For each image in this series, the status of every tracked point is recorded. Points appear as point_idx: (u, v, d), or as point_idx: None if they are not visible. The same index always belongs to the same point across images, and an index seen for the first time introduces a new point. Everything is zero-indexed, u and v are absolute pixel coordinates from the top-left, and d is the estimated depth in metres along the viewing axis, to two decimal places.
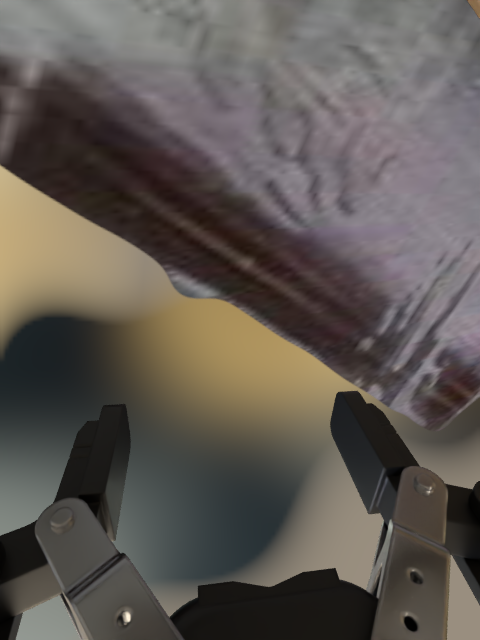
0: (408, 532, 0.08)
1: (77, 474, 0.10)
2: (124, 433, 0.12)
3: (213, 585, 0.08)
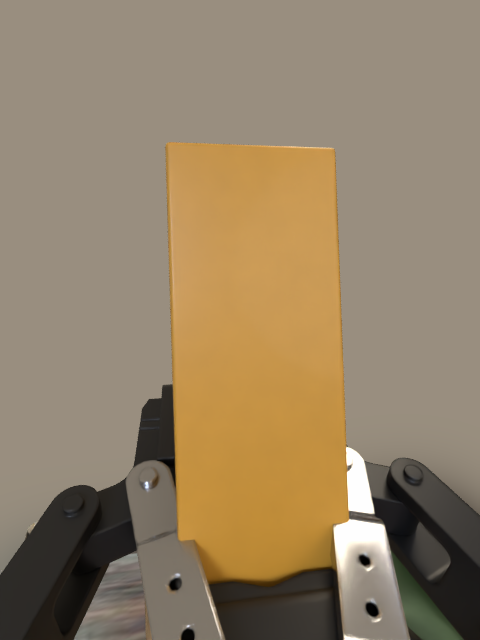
0: None
1: (149, 443, 0.11)
2: None
3: (213, 585, 0.08)
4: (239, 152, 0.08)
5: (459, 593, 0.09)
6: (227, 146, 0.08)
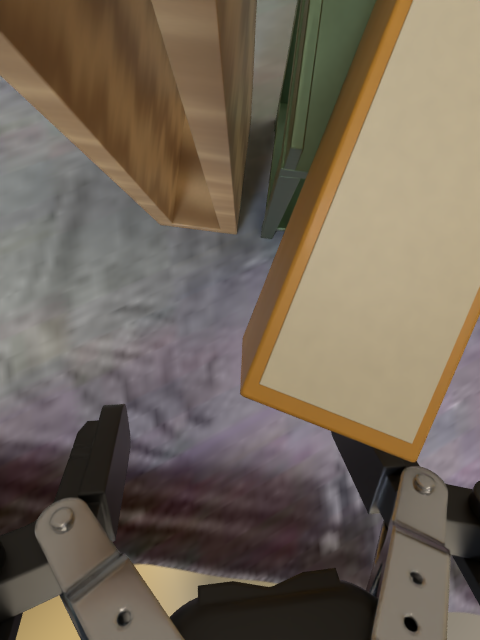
0: (408, 532, 0.08)
1: (77, 474, 0.10)
2: (124, 433, 0.12)
3: (213, 585, 0.08)
4: None
5: None
6: None
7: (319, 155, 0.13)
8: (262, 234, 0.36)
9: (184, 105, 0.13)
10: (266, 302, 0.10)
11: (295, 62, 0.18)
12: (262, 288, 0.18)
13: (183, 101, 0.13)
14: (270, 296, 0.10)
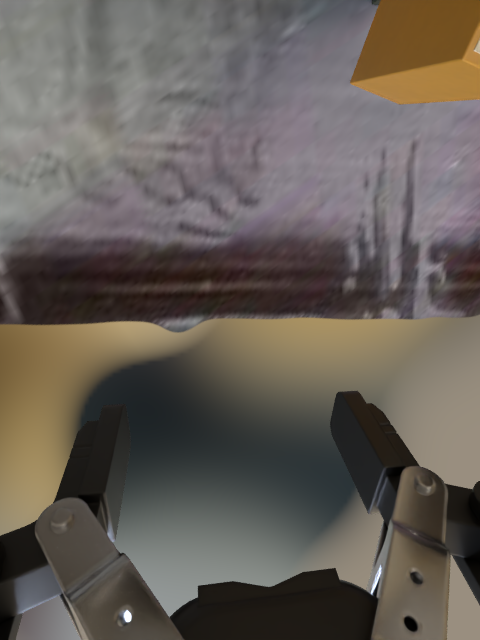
0: (408, 532, 0.08)
1: (77, 474, 0.10)
2: (124, 433, 0.12)
3: (214, 585, 0.08)
4: None
5: None
6: None
7: None
8: None
9: None
10: (440, 14, 0.16)
11: None
12: (370, 30, 0.22)
13: None
14: (453, 5, 0.15)
